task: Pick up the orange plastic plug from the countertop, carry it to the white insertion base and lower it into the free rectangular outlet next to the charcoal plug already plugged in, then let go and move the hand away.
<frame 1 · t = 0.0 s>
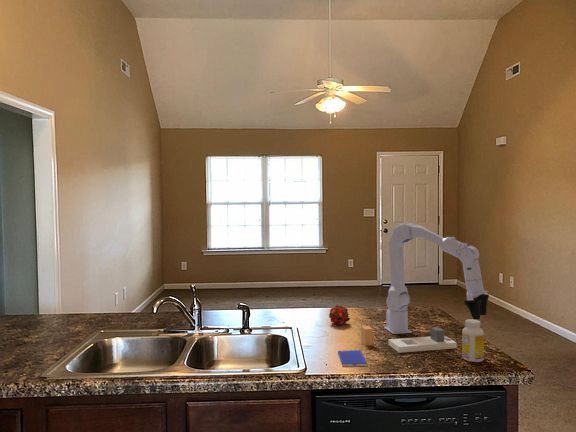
hand: (479, 317, 164), 11 cm above the table, tool pointing down, fingers open, 7 cm apart
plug: (367, 343, 169), on the table
supplement bottle: (473, 359, 151), on the table
dragon fruit: (339, 324, 196), on the table
white insertion base: (422, 346, 164), on the table
hard drive: (352, 361, 152), on the table
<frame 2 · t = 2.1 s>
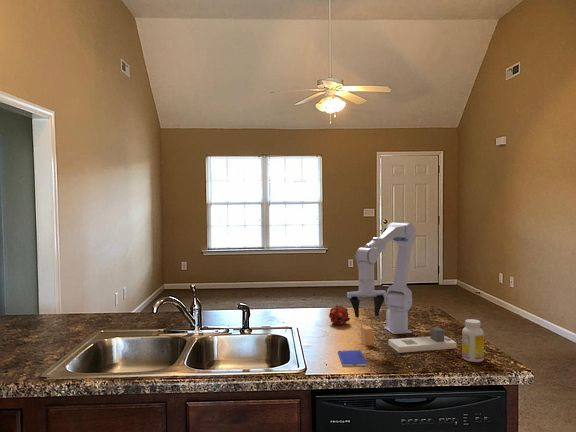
hand: (366, 316, 169), 10 cm above the table, tool pointing down, fingers open, 7 cm apart
nothing on the table moved.
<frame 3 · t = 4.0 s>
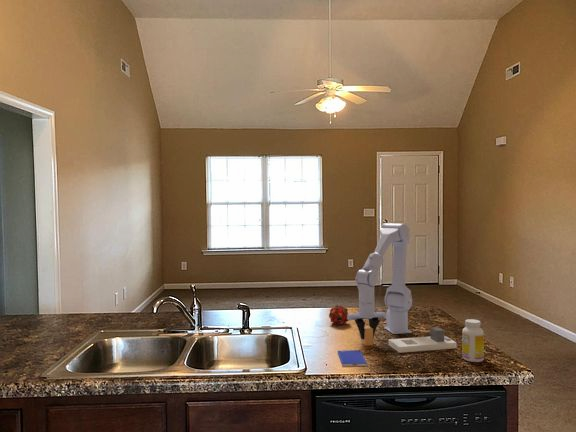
hand: (366, 338, 169), 2 cm above the table, tool pointing down, fingers closed on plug, 3 cm apart
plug: (367, 343, 169), on the table, touching gripper
everything else where it was.
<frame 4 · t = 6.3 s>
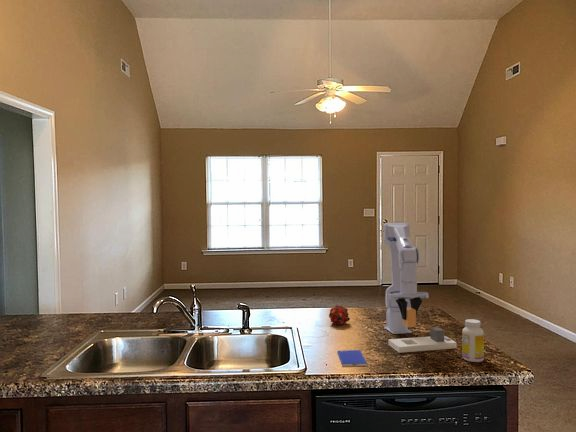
hand: (408, 318, 163), 10 cm above the table, tool pointing down, fingers closed on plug, 3 cm apart
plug: (409, 325, 163), point 8 cm above the table, touching gripper
everything else where it was.
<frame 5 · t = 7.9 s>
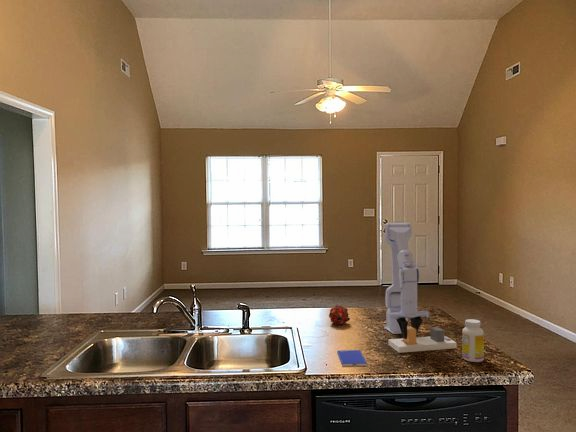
hand: (409, 337, 163), 3 cm above the table, tool pointing down, fingers closed on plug, 3 cm apart
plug: (409, 344, 163), point 1 cm above the table, touching gripper
everything else where it was.
when the fingers open (3 cm above the table, at t = 8.8 s): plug stays where it is, resting in white insertion base.
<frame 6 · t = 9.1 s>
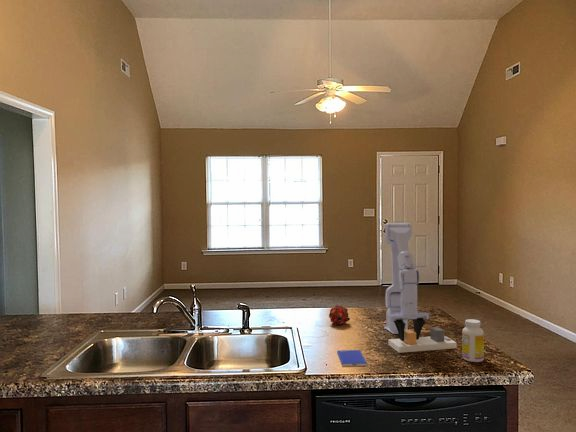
hand: (409, 339, 163), 3 cm above the table, tool pointing down, fingers open, 5 cm apart
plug: (409, 347, 163), resting in white insertion base
everything else where it was.
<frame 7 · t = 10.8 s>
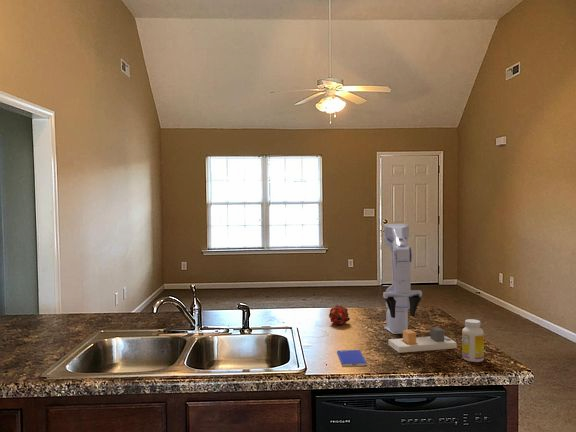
hand: (402, 316, 167), 10 cm above the table, tool pointing down, fingers open, 7 cm apart
nothing on the table moved.
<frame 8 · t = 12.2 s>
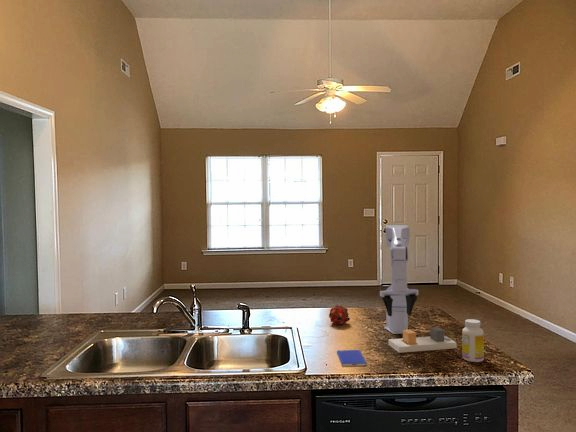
hand: (399, 315, 169), 10 cm above the table, tool pointing down, fingers open, 7 cm apart
nothing on the table moved.
at the end: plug 0.3 cm from the target spot on the white insertion base, point 0.0 cm above the white insertion base's base; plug tilted 0°; the gripper is holding nothing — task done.
